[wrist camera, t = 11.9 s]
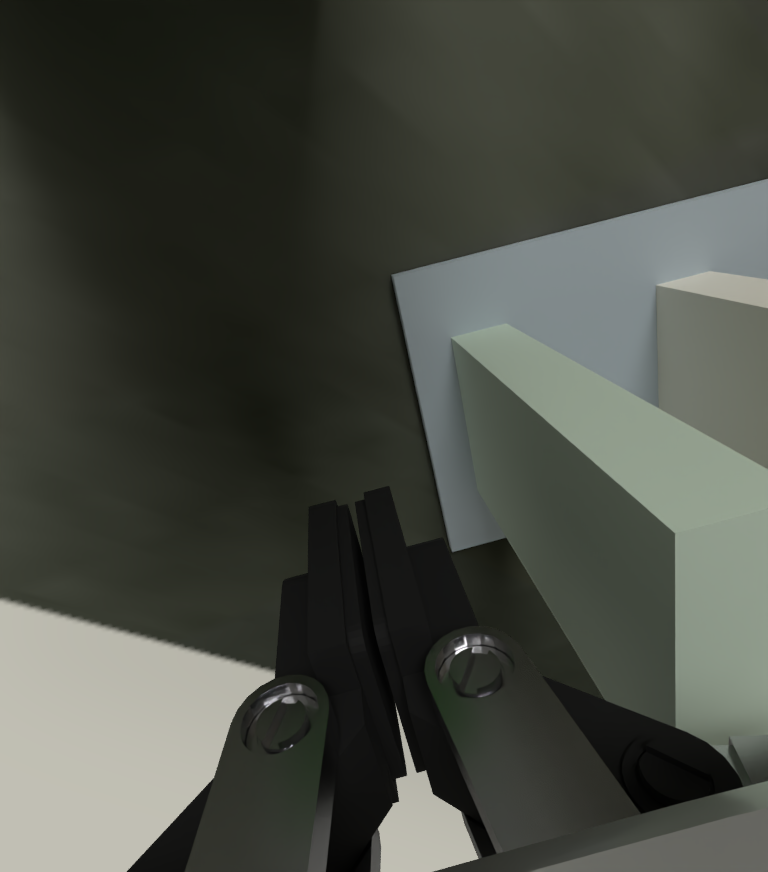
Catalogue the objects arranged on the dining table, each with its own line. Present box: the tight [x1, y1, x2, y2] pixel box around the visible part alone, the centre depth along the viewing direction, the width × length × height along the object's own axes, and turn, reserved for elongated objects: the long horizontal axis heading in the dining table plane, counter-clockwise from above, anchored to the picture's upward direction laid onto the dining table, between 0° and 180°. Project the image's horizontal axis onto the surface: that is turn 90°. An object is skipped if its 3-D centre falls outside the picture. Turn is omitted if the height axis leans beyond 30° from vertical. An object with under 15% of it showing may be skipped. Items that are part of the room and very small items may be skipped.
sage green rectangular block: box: [451, 323, 768, 746], centre depth 11 cm, size 2×5×10 cm, turn 13°
